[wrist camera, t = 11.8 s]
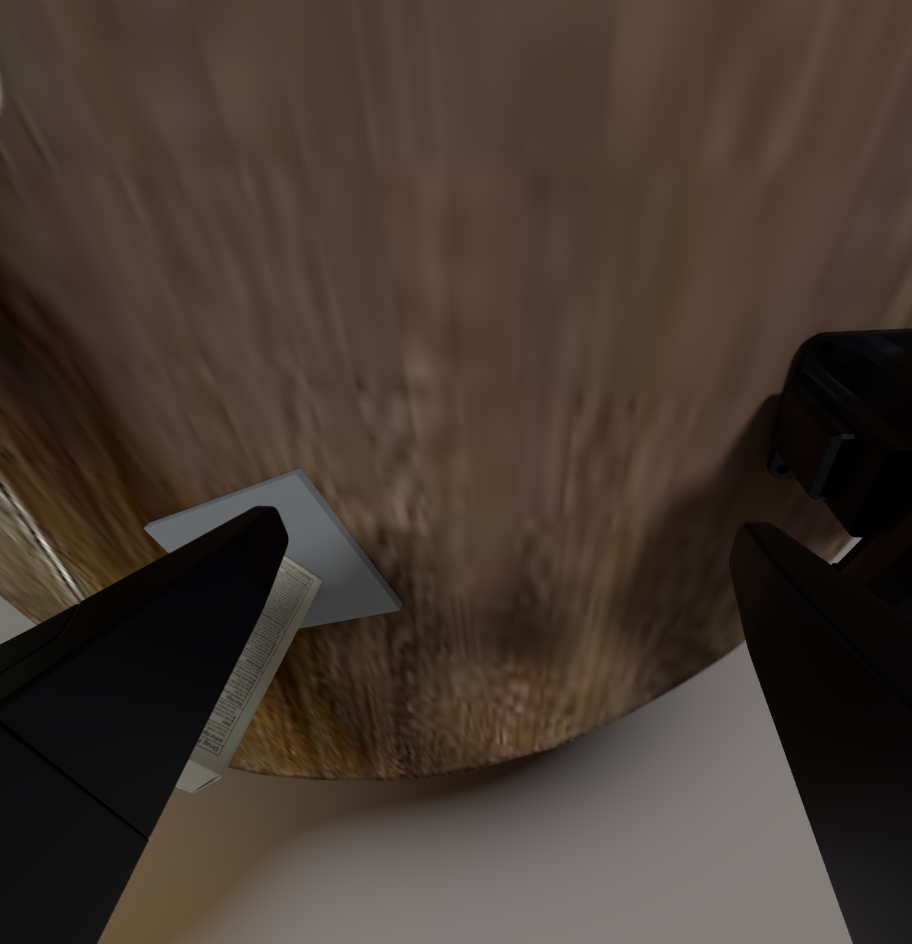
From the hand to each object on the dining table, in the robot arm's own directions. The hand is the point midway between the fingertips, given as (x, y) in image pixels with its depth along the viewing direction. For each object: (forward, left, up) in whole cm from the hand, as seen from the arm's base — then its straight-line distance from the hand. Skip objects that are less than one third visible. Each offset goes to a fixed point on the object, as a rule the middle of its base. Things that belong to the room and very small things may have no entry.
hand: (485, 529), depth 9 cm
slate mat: (+17, +16, -13) cm, 27 cm away
